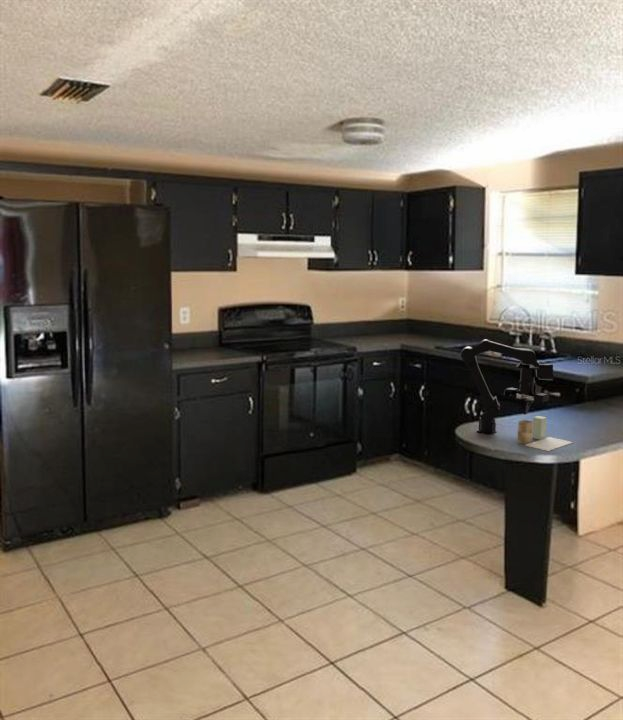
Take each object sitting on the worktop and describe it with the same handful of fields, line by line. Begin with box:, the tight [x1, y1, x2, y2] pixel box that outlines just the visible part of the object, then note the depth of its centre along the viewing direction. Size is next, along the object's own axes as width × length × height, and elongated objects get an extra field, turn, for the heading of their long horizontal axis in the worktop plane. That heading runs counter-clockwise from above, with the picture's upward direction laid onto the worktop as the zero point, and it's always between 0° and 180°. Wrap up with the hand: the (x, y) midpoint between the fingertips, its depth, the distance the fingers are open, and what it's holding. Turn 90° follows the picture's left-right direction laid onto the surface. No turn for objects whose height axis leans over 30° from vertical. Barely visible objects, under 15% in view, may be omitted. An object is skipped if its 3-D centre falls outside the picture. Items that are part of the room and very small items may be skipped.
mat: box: [524, 436, 574, 452], centre depth 284 cm, size 10×19×1 cm, turn 131°
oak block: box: [517, 419, 533, 445], centre depth 286 cm, size 4×4×9 cm
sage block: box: [532, 415, 548, 441], centre depth 293 cm, size 4×4×9 cm
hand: (525, 414), depth 297 cm, fingers closed
